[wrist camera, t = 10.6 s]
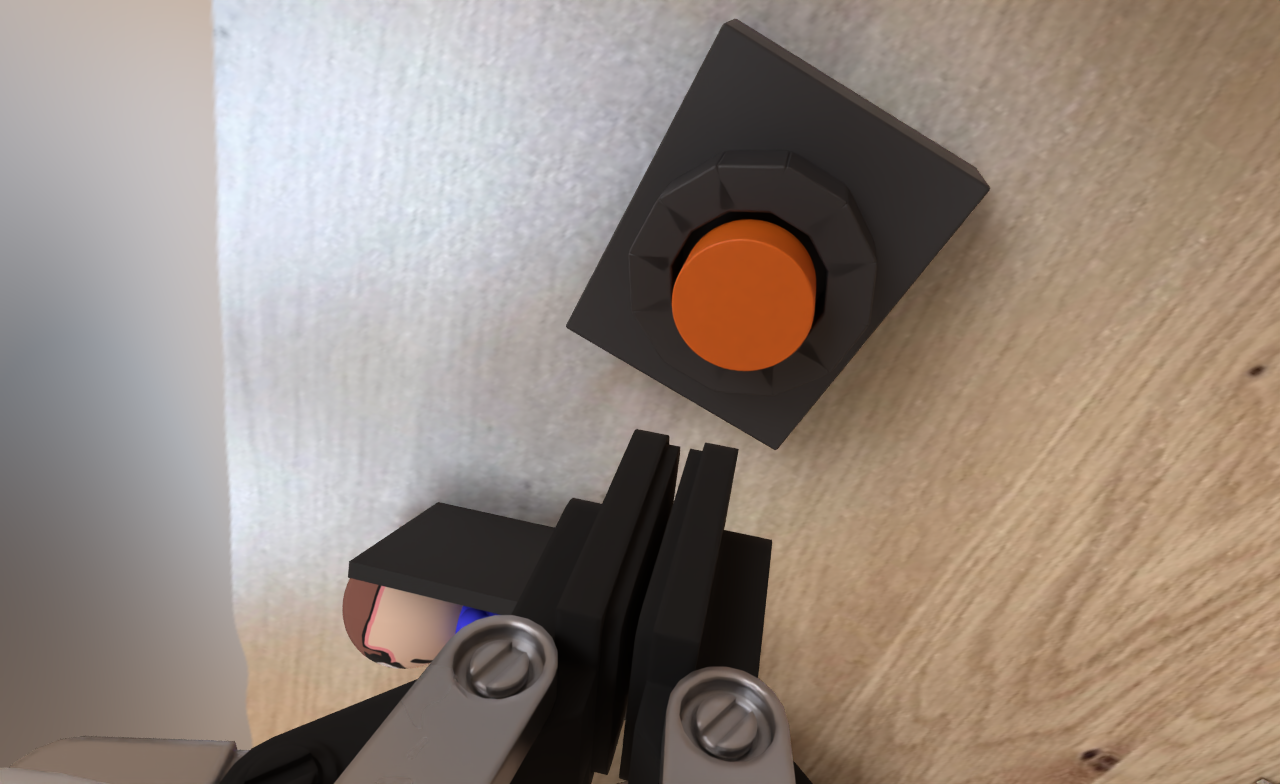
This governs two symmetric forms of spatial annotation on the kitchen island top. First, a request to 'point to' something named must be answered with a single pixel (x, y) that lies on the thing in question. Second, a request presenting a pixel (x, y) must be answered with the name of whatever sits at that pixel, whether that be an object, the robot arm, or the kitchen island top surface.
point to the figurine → (1263, 782)
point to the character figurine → (437, 581)
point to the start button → (745, 295)
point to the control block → (783, 195)
